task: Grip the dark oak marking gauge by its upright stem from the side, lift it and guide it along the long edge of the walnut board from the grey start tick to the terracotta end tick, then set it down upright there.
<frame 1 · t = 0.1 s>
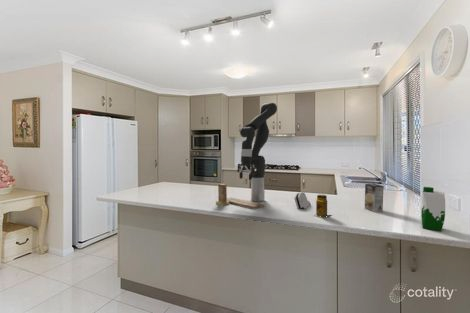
hand: (245, 179, 174), 17 cm above the worktop, tool pointing down, fingers open, 8 cm apart
walnut board: (241, 203, 174), on the worktop
milk carton: (432, 228, 123), on the worktop
marking gauge: (222, 204, 173), on the worktop
hinge: (302, 206, 169), on the worktop
coffee box: (373, 210, 157), on the worktop
condiment: (322, 215, 146), on the worktop
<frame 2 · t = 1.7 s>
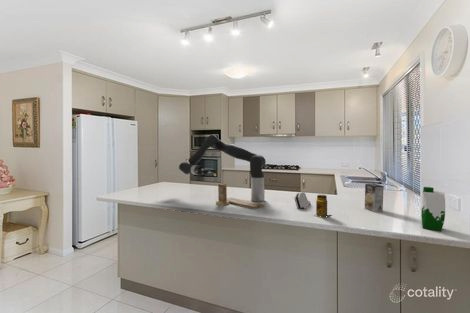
hand: (211, 171, 180), 22 cm above the worktop, tool horizontal, fingers open, 8 cm apart
nothing on the worktop moved.
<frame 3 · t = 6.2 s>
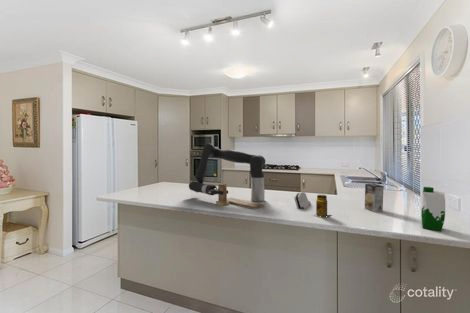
hand: (225, 192, 171), 9 cm above the worktop, tool horizontal, fingers closed on marking gauge, 4 cm apart
marking gauge: (222, 204, 173), on the worktop, touching gripper
everything else where it was.
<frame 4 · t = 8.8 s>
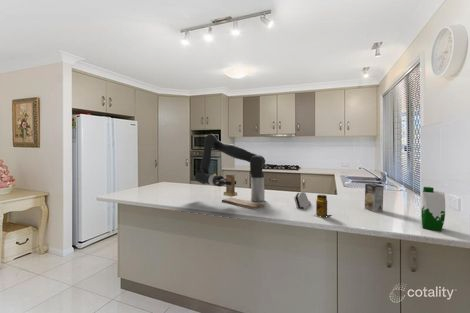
hand: (233, 183, 165), 16 cm above the worktop, tool horizontal, fingers closed on marking gauge, 4 cm apart
marking gauge: (230, 195, 168), point 7 cm above the worktop, touching gripper
everything else where it was.
when the fingers open (10 cm above the worktop, at t = 11.8 s): marking gauge drops 1 cm, on the worktop.
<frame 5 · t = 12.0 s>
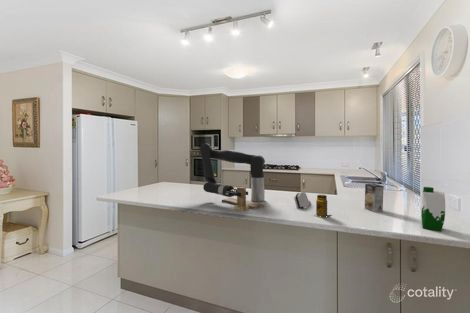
hand: (244, 194, 159), 10 cm above the worktop, tool horizontal, fingers open, 6 cm apart
marking gauge: (241, 209, 161), on the worktop
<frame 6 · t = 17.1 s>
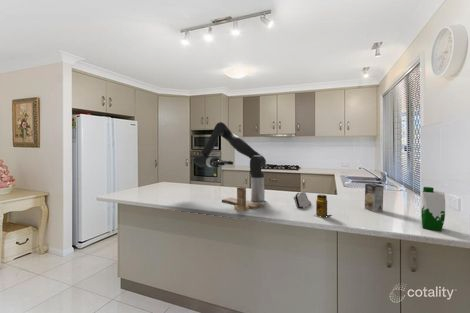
hand: (228, 163, 176), 28 cm above the worktop, tool horizontal, fingers open, 8 cm apart
at the end: marking gauge inside the target area (0.2 cm from its centre), on the worktop; marking gauge tilted 0°; the gripper is holding nothing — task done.
